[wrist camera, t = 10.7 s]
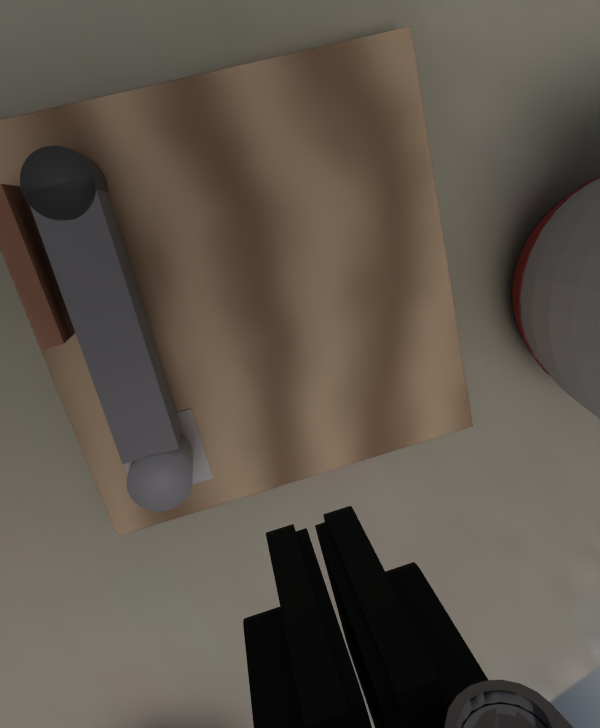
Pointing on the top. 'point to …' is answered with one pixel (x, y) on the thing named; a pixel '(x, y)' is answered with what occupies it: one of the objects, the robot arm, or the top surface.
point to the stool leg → (109, 322)
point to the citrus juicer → (564, 294)
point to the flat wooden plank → (261, 265)
